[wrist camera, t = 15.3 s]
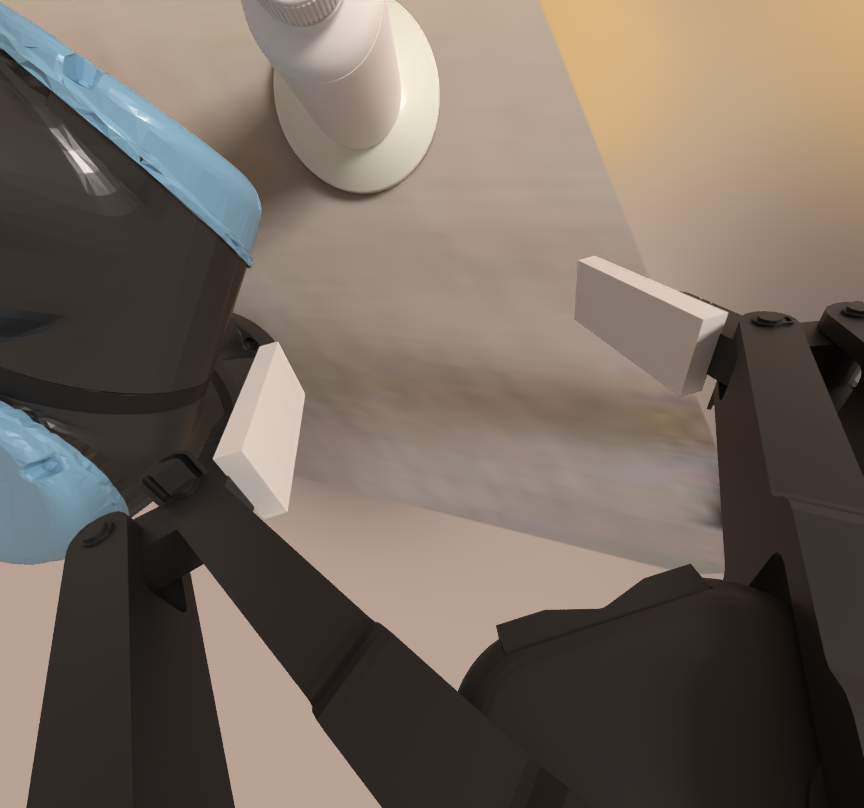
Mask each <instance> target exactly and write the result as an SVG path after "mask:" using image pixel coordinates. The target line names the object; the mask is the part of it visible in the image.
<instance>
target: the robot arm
mask: <svg viewBox="0 0 864 808" xmlns="http://www.w3.org/2000/svg"><path fill="white" fill-rule="evenodd" d="M261 215H262V208H261V202H260V199H259V197H258V194H257V191H256V190H255V188H254V187H253V185H252V184H251V183H250V181H249V180H248V179H247V178H246V177H245V176H244V175H243V174H242V173H241V172H240V171H239V170H238V169H237V168H236V167H235V166H233V165H232V164H231V163H230V162H229V161H227V160H226V159H225V158H224V157H222V156H221V155H220V154H219V153H217V152H216V151H215V150H213V149H212V148H211V147H210V146H208V145H207V144H206V143H204V142H203V141H202V140H201V139H199V138H198V137H197V136H195V135H194V134H193V133H191V132H190V131H189V130H187V129H186V128H185V127H183V126H182V125H181V124H179V123H178V122H176V121H175V120H174V119H172V118H171V117H170V116H168V115H167V114H165V113H164V112H163V111H161V110H160V109H159V108H157V107H156V106H154V105H153V104H152V103H150V102H149V101H147V100H146V99H145V98H143V97H142V96H140V95H139V94H138V93H136V92H135V91H133V90H132V89H130V88H129V87H127V86H126V85H124V84H123V83H122V82H120V81H119V80H117V79H116V78H114V77H113V76H111V75H110V74H108V73H106V72H103V71H101V70H98V69H97V68H96V67H95V66H94V65H93V64H92V63H91V62H90V61H88V60H87V59H85V58H84V57H82V56H81V55H79V54H78V53H76V52H74V51H73V50H71V49H70V48H69V47H67V46H66V45H65V44H64V43H62V42H61V41H60V40H58V39H57V38H56V37H55V36H53V35H51V34H50V33H48V32H47V31H45V30H44V29H42V28H41V27H39V26H38V25H36V24H35V23H33V22H32V21H30V20H28V19H27V18H25V17H24V16H22V15H20V14H19V13H17V12H16V11H14V10H12V9H11V8H9V7H7V6H6V5H4V4H2V3H1V2H0V561H1V562H6V563H13V564H30V565H31V564H32V565H33V564H40V563H45V562H49V561H57V560H63V559H65V563H64V569H63V576H62V582H61V588H60V595H59V602H58V607H57V614H56V621H55V627H54V633H53V640H52V646H51V653H50V659H49V666H48V672H47V678H46V685H45V691H44V698H43V704H42V711H41V718H40V724H39V730H38V736H37V743H36V749H35V756H34V763H33V769H32V775H31V783H30V788H29V796H28V802H27V807H26V808H235V806H234V801H233V795H232V790H231V785H230V779H229V774H228V769H227V764H226V758H225V753H224V748H223V742H222V737H221V732H220V727H219V721H218V716H217V711H216V706H215V701H214V696H213V690H212V685H211V679H210V674H209V669H208V664H207V659H206V653H205V648H204V643H203V637H202V632H201V627H200V622H199V616H198V611H197V606H196V601H195V596H194V590H193V585H192V580H191V574H190V572H191V571H192V570H194V569H195V568H197V567H199V566H201V565H203V564H205V566H206V567H207V569H208V570H209V571H210V572H211V574H212V575H213V576H214V578H215V579H216V580H217V581H218V583H219V584H220V585H221V586H222V588H223V589H224V591H225V592H226V593H227V594H228V596H229V597H230V598H231V599H232V601H233V602H234V604H235V605H236V606H237V607H238V609H239V610H240V611H241V613H242V614H243V615H244V616H245V618H246V619H247V620H248V621H249V623H250V624H251V625H252V627H253V628H254V629H255V631H256V632H257V633H258V634H259V636H260V637H261V638H262V640H263V641H264V642H265V644H266V645H267V646H268V648H269V649H270V650H271V651H272V653H273V654H274V655H275V657H276V658H277V659H278V660H279V662H280V663H281V664H282V666H283V667H284V668H285V669H286V671H287V672H288V673H289V675H290V676H291V677H292V679H293V680H294V681H295V683H296V684H297V685H298V686H299V688H300V689H301V690H302V692H303V693H304V694H305V695H306V697H307V698H308V700H309V701H310V703H311V705H312V712H313V714H314V716H315V718H316V719H317V721H318V723H319V724H320V725H321V727H322V728H323V730H324V731H325V733H326V734H327V735H328V737H329V738H330V739H331V740H332V742H333V743H334V744H335V746H336V747H337V748H338V750H339V751H340V752H341V754H342V755H343V756H344V757H345V759H346V760H347V762H348V763H349V764H350V766H351V767H352V768H353V770H354V771H355V772H356V774H357V775H358V776H359V777H360V779H361V780H362V782H363V783H364V784H365V786H366V787H367V788H368V790H369V791H370V792H371V794H372V795H373V796H374V798H375V799H376V800H377V802H378V803H379V804H380V805H381V807H382V808H864V303H863V302H859V301H855V302H842V303H835V304H832V305H830V306H827V308H826V309H825V312H824V313H823V315H822V317H821V319H820V321H814V322H804V323H799V322H798V321H797V320H796V319H795V318H793V317H791V316H789V315H785V314H781V313H777V312H767V311H766V312H765V311H762V312H751V313H747V314H745V315H743V316H742V315H740V314H737V313H735V312H733V311H730V310H728V309H725V308H723V307H721V306H718V305H716V304H713V303H712V304H710V302H709V301H706V300H704V299H701V300H700V298H699V297H697V296H694V295H692V294H689V293H686V292H681V291H677V290H674V289H672V288H670V287H667V286H665V285H662V284H660V283H658V282H655V281H653V280H651V279H648V278H646V277H644V276H641V275H639V274H637V273H634V272H632V271H629V270H627V269H625V268H622V267H620V266H618V265H615V264H613V263H611V262H608V261H606V260H604V259H601V258H599V257H596V256H592V257H588V258H584V259H581V260H578V267H577V284H576V301H575V318H574V319H575V320H576V321H578V322H579V323H580V324H582V325H583V326H584V327H586V328H587V329H588V330H590V331H591V332H593V333H594V334H595V335H597V336H598V337H599V338H601V339H602V340H603V341H605V342H606V343H607V344H609V345H610V346H612V347H613V348H614V349H616V350H617V351H618V352H620V353H621V354H622V355H624V356H625V357H627V358H628V359H629V360H631V361H632V362H633V363H635V364H636V365H637V366H639V367H640V368H642V369H643V370H644V371H646V372H647V373H648V374H650V375H651V376H652V377H654V378H655V379H656V380H658V381H659V382H661V383H662V384H663V385H665V386H666V387H667V388H669V389H670V390H671V391H673V392H674V393H676V394H677V395H678V396H680V397H682V396H685V395H688V394H692V393H695V392H698V391H702V389H703V386H704V383H705V380H706V377H707V374H708V375H709V376H711V377H712V378H714V379H716V380H717V383H716V385H715V388H714V391H713V394H712V396H711V399H710V402H709V404H708V407H707V409H711V408H712V406H713V405H714V406H715V419H716V420H715V421H716V436H717V451H718V466H719V481H720V496H721V511H722V526H723V541H724V556H725V573H724V578H723V580H719V579H711V578H702V577H701V576H700V575H699V573H698V572H697V571H696V570H695V569H694V567H693V566H692V565H691V564H688V565H685V566H682V567H679V568H676V569H672V570H669V571H666V572H663V573H660V574H657V575H653V576H650V577H648V578H644V579H643V580H641V581H640V582H639V583H637V584H636V585H635V586H633V587H632V588H630V589H629V590H628V591H626V592H625V593H624V594H622V595H621V596H620V597H618V598H617V599H616V600H614V601H613V602H611V603H610V604H609V605H607V606H606V607H604V608H601V609H573V610H572V609H571V610H543V611H541V612H537V613H534V614H531V615H528V616H524V617H521V618H518V619H515V620H512V621H509V622H506V623H503V624H499V625H497V626H496V627H497V632H498V637H499V639H498V640H497V641H496V642H494V643H493V644H492V645H490V646H489V647H488V648H487V649H486V650H485V651H484V652H483V653H482V654H481V655H480V656H479V657H478V658H477V659H476V661H475V662H474V663H473V664H472V666H471V667H470V669H469V671H468V672H467V674H466V675H465V677H464V679H463V681H462V683H461V685H460V688H459V690H458V692H457V691H456V690H455V689H454V688H453V687H452V686H451V685H450V684H448V683H447V682H446V681H445V680H444V679H443V678H442V677H441V676H439V675H438V674H437V673H436V672H435V671H434V670H433V669H432V668H431V667H429V666H428V665H427V664H426V663H425V662H424V661H423V660H421V658H419V657H418V656H417V655H416V654H415V653H414V652H413V651H411V650H410V649H409V648H408V647H407V646H406V645H405V644H404V643H403V642H402V641H400V640H399V639H398V638H397V637H396V636H395V635H394V634H393V633H391V632H390V631H389V630H388V629H387V628H385V627H384V626H383V625H381V624H380V623H378V622H374V621H373V620H372V619H371V618H369V617H368V616H367V615H366V614H365V613H364V612H363V611H361V609H359V608H358V607H357V606H356V605H355V604H354V603H353V602H352V601H351V600H349V599H348V598H347V597H346V596H345V595H344V594H343V593H342V592H341V591H339V590H338V589H337V588H336V587H335V586H334V585H333V584H332V583H331V582H330V581H329V580H327V579H326V578H325V577H324V576H323V575H322V574H321V573H320V572H319V571H317V570H316V569H315V568H314V567H313V566H312V565H311V564H310V563H309V562H308V561H306V560H305V559H304V558H303V557H302V556H301V555H300V554H299V553H298V552H297V551H295V550H294V549H293V548H292V547H291V546H290V545H289V544H288V543H287V542H285V541H284V540H283V539H282V538H281V537H280V536H279V535H278V534H277V533H276V532H274V531H273V530H272V529H271V528H270V527H269V526H268V525H267V524H266V523H264V522H263V521H262V520H261V519H260V518H259V517H258V516H257V515H256V514H254V513H253V510H254V509H255V510H256V511H257V513H258V514H259V515H260V516H261V517H262V519H266V518H269V517H273V516H276V515H280V514H283V513H286V512H288V505H289V499H290V492H291V485H292V479H293V472H294V466H295V459H296V452H297V446H298V439H299V433H300V426H301V419H302V413H303V406H304V399H305V393H304V391H303V389H302V387H301V385H300V383H299V381H298V379H297V377H296V375H295V373H294V371H293V370H292V368H291V366H290V364H289V362H288V360H287V358H286V356H285V354H284V352H283V350H282V348H281V346H280V344H279V342H275V341H274V340H273V339H272V338H271V337H270V336H269V335H268V334H267V333H266V332H265V331H264V330H263V329H262V328H260V327H259V326H258V325H256V324H255V323H253V322H252V321H250V320H248V319H246V318H244V317H242V316H240V315H237V314H234V313H232V312H233V309H234V306H235V302H236V299H237V296H238V293H239V290H240V287H241V284H242V281H243V278H244V275H245V272H246V269H247V268H251V267H252V264H253V259H252V257H251V254H252V250H253V246H254V243H255V239H256V235H257V232H258V228H259V224H260V221H261ZM860 370H861V371H862V373H861V378H860V380H859V383H857V382H856V381H855V378H856V377H857V375H858V374H859V372H860ZM152 501H154V502H155V503H156V504H157V505H158V506H159V507H157V508H155V509H153V510H151V511H149V512H147V513H145V514H143V515H141V516H140V517H137V518H135V519H134V520H133V519H132V518H131V517H133V516H134V515H135V514H137V513H138V512H139V511H141V510H142V509H143V508H145V507H146V506H147V505H149V504H150V503H151V502H152Z"/></svg>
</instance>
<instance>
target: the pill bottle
mask: <svg viewBox="0 0 864 808" xmlns="http://www.w3.org/2000/svg"><path fill="white" fill-rule="evenodd" d="M241 2H242V6H243V10H244V13H245V17H246V20H247V23H248V25H249V28H250V30H251V32H252V35H253V37H254V38H255V40H256V42H257V44H258V45H259V47H260V49H261V50H262V52H263V53H264V54H265V56H266V57H267V59H268V60H269V61H270V63H271V64H272V65H273V67H274V68H275V69H276V71H277V72H278V73H279V75H280V76H281V77H282V79H283V80H284V81H285V83H286V84H287V85H288V87H289V88H290V90H291V91H292V92H293V94H294V95H295V96H296V98H297V99H298V100H299V102H300V103H301V104H302V106H303V107H304V108H305V110H306V111H307V112H308V114H309V115H310V116H311V118H312V119H313V120H314V122H315V123H316V124H317V126H318V127H319V128H320V130H321V131H322V132H323V133H324V134H325V135H326V136H328V137H329V138H330V139H331V140H333V141H334V142H336V143H337V144H339V145H341V146H344V147H347V148H351V149H364V148H368V147H371V146H374V145H376V144H377V143H379V142H380V141H382V140H383V139H384V138H385V137H386V136H387V135H388V134H389V132H390V131H391V130H392V128H393V126H394V124H395V122H396V120H397V118H398V114H399V111H400V106H401V79H400V73H399V68H398V62H397V57H396V51H395V45H394V40H393V34H392V28H391V23H390V17H389V12H388V6H387V0H241Z"/></svg>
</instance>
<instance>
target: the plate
mask: <svg viewBox="0 0 864 808" xmlns="http://www.w3.org/2000/svg"><path fill="white" fill-rule="evenodd" d="M387 6H388V12H389V17H390V23H391V28H392V34H393V40H394V45H395V51H396V57H397V62H398V68H399V73H400V79H401V106H400V111H399V114H398V118H397V120H396V122H395V124H394V126H393V128H392V130H391V131H390V132H389V134H388V135H387V136H386V137H385V138H384V139H383V140H382V141H380V142H379V143H377V144H376V145H374V146H371V147H368V148H364V149H351V148H347V147H344V146H341V145H339V144H337V143H336V142H334V141H333V140H331V139H330V138H329V137H328V136H326V135H325V134H324V133H323V132H322V131H321V130H320V128H319V127H318V126H317V124H316V123H315V122H314V120H313V119H312V118H311V116H310V115H309V114H308V112H307V111H306V110H305V108H304V107H303V106H302V104H301V103H300V102H299V100H298V99H297V98H296V96H295V95H294V94H293V92H292V91H291V90H290V88H289V87H288V85H287V84H286V83H285V81H284V80H283V79H282V77H281V76H280V75H279V73H278V72H277V71H276V69H275V68H274V77H273V83H274V99H275V106H276V110H277V115H278V118H279V121H280V124H281V127H282V130H283V132H284V134H285V136H286V139H287V141H288V142H289V144H290V146H291V147H292V149H293V151H294V152H295V154H296V155H297V156H298V157H299V159H300V160H301V161H302V162H303V163H304V164H305V165H306V167H307V168H308V169H309V170H311V171H312V172H313V173H314V174H315V175H316V176H318V177H319V178H320V179H321V180H323V181H324V182H326V183H328V184H329V185H331V186H333V187H335V188H337V189H340V190H343V191H346V192H349V193H356V194H372V193H378V192H382V191H385V190H388V189H390V188H392V187H394V186H396V185H398V184H399V183H401V182H402V181H404V180H405V179H406V178H408V177H409V176H410V175H411V174H412V173H413V172H414V171H415V170H416V168H417V167H418V166H419V165H420V164H421V162H422V161H423V159H424V157H425V156H426V154H427V152H428V150H429V148H430V146H431V144H432V141H433V138H434V135H435V132H436V128H437V123H438V117H439V79H438V72H437V68H436V63H435V59H434V56H433V53H432V50H431V47H430V45H429V43H428V41H427V39H426V37H425V35H424V33H423V31H422V30H421V28H420V27H419V25H418V23H417V22H416V21H415V20H414V18H413V17H412V16H411V15H410V14H409V13H408V12H407V11H406V10H405V9H404V8H403V7H402V6H401V5H400V4H399V3H397V2H396V1H394V0H387Z"/></svg>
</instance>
